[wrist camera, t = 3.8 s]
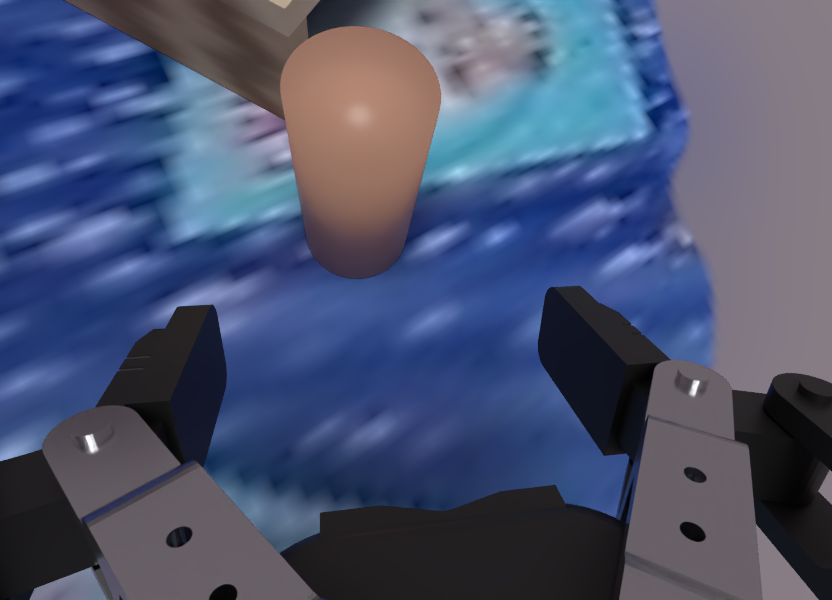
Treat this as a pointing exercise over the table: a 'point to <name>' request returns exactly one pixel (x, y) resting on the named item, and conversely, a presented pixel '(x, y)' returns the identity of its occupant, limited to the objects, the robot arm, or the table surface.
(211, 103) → the table surface
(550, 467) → the table surface
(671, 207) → the table surface
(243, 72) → the wooden stand
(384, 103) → the tan dome-topped peg
